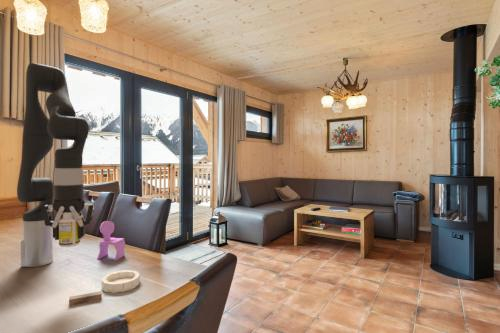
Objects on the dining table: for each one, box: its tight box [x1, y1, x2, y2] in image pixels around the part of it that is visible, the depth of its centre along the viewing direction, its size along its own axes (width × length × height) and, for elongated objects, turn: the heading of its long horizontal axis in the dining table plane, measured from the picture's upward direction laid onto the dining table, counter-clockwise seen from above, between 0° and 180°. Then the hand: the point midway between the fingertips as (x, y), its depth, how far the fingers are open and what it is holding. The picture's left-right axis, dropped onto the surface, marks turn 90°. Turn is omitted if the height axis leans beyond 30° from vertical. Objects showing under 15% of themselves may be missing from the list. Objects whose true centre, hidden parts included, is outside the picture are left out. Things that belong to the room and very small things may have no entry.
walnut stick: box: [68, 290, 103, 307], centre depth 83 cm, size 8×2×2 cm, turn 117°
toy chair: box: [96, 220, 126, 262], centre depth 120 cm, size 8×9×15 cm
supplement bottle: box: [58, 212, 81, 248], centre depth 88 cm, size 6×6×10 cm
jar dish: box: [101, 269, 141, 294], centre depth 94 cm, size 11×11×3 cm
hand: (69, 238), depth 88 cm, fingers closed on supplement bottle, 5 cm apart
